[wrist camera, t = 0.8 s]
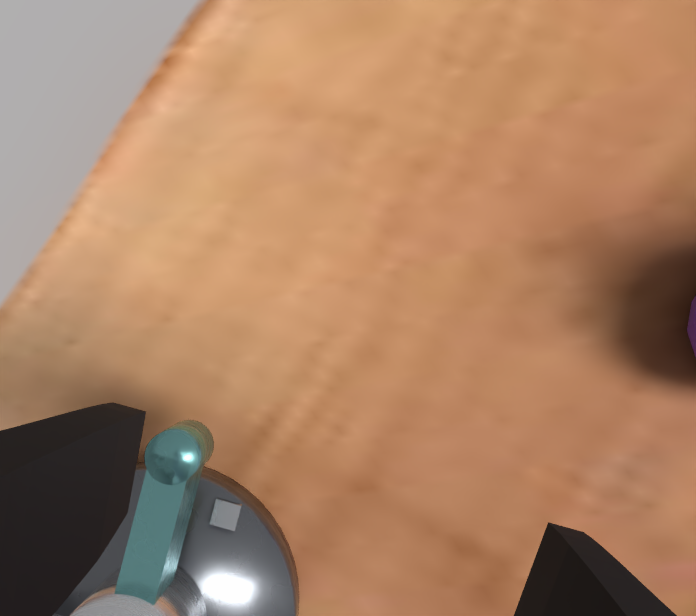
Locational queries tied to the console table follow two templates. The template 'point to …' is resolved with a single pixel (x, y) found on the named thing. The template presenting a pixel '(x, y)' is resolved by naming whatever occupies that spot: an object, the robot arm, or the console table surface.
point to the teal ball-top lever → (159, 533)
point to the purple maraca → (692, 325)
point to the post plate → (216, 552)
